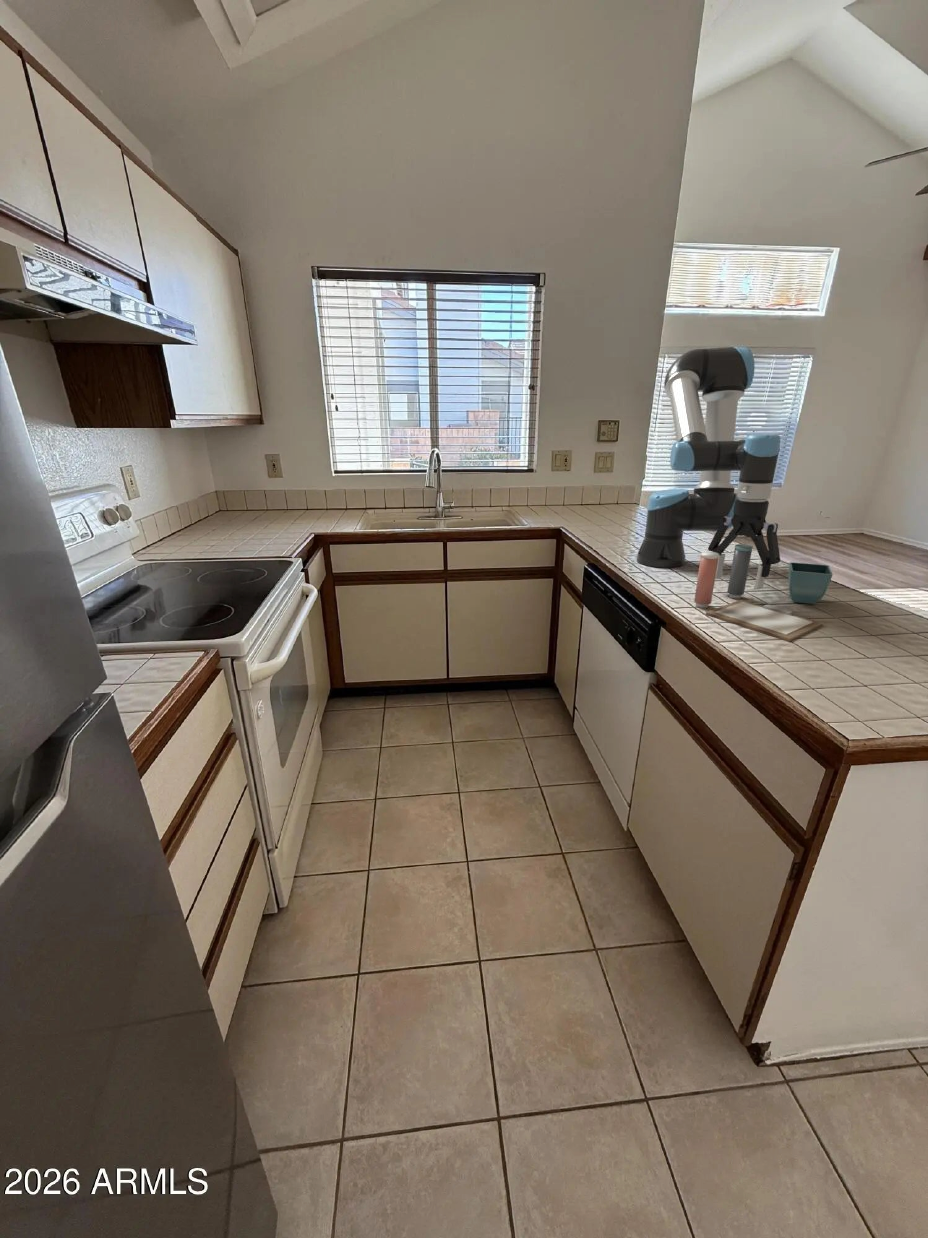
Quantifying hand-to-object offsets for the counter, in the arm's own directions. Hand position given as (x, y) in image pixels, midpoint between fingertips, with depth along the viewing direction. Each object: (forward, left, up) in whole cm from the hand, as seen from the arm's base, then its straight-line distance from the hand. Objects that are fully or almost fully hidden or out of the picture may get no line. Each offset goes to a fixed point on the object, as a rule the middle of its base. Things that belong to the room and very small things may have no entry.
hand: (737, 582), depth 137 cm
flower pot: (+12, +11, -4) cm, 17 cm away
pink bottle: (-1, -13, -4) cm, 14 cm away
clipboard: (+13, -10, -4) cm, 17 cm away
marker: (0, 0, -4) cm, 4 cm away
